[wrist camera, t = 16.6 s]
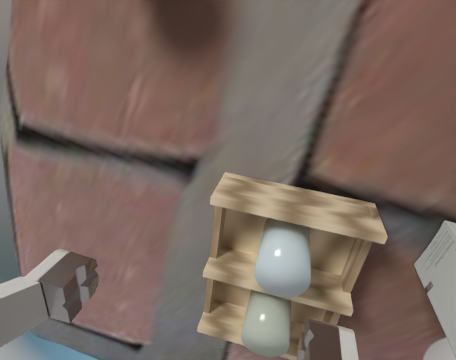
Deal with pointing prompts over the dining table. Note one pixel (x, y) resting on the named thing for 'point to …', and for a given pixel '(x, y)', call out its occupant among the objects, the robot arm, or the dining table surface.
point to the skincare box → (441, 278)
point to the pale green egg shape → (267, 324)
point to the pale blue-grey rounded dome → (284, 259)
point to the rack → (250, 243)
